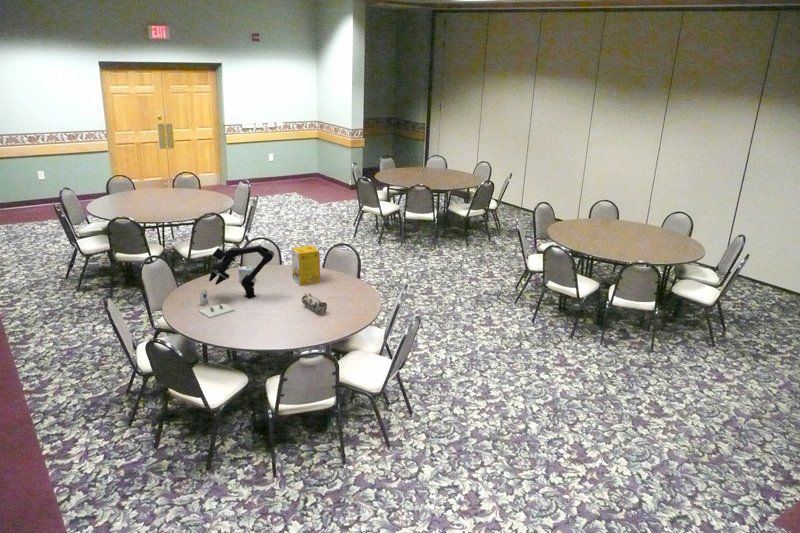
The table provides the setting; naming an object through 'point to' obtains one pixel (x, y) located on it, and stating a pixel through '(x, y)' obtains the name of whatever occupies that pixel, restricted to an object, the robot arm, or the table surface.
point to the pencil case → (314, 303)
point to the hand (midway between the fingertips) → (212, 282)
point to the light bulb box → (245, 272)
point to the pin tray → (216, 310)
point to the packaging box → (305, 265)
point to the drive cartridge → (203, 297)
